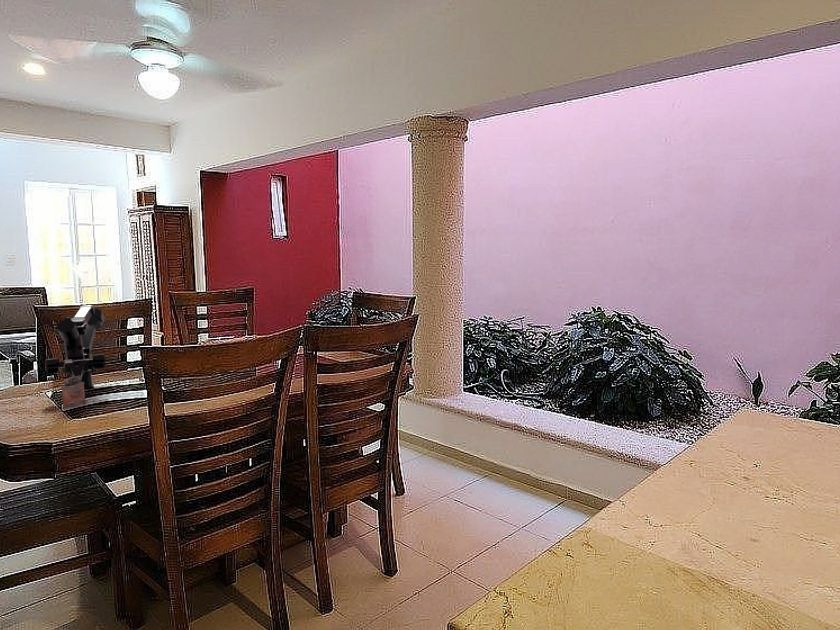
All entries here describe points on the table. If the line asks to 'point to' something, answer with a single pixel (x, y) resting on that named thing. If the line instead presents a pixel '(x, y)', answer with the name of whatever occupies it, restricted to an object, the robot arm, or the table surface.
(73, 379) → the lighter
